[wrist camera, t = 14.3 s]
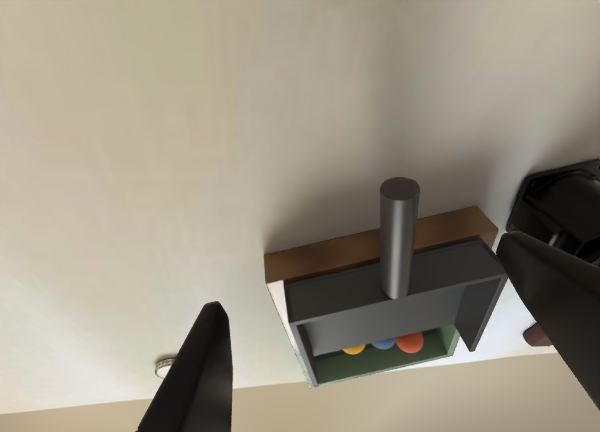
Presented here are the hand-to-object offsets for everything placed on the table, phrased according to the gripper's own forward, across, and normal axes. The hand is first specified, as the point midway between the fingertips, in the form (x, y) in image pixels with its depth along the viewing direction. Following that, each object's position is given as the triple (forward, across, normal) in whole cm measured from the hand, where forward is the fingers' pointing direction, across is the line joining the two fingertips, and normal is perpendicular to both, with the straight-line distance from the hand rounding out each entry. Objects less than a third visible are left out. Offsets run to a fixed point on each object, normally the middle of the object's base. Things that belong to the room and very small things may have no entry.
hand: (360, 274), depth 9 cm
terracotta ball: (+10, -8, +29) cm, 32 cm away
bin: (+12, -4, +28) cm, 31 cm away
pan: (+9, -4, +13) cm, 16 cm away
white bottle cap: (+12, +20, +26) cm, 35 cm away
